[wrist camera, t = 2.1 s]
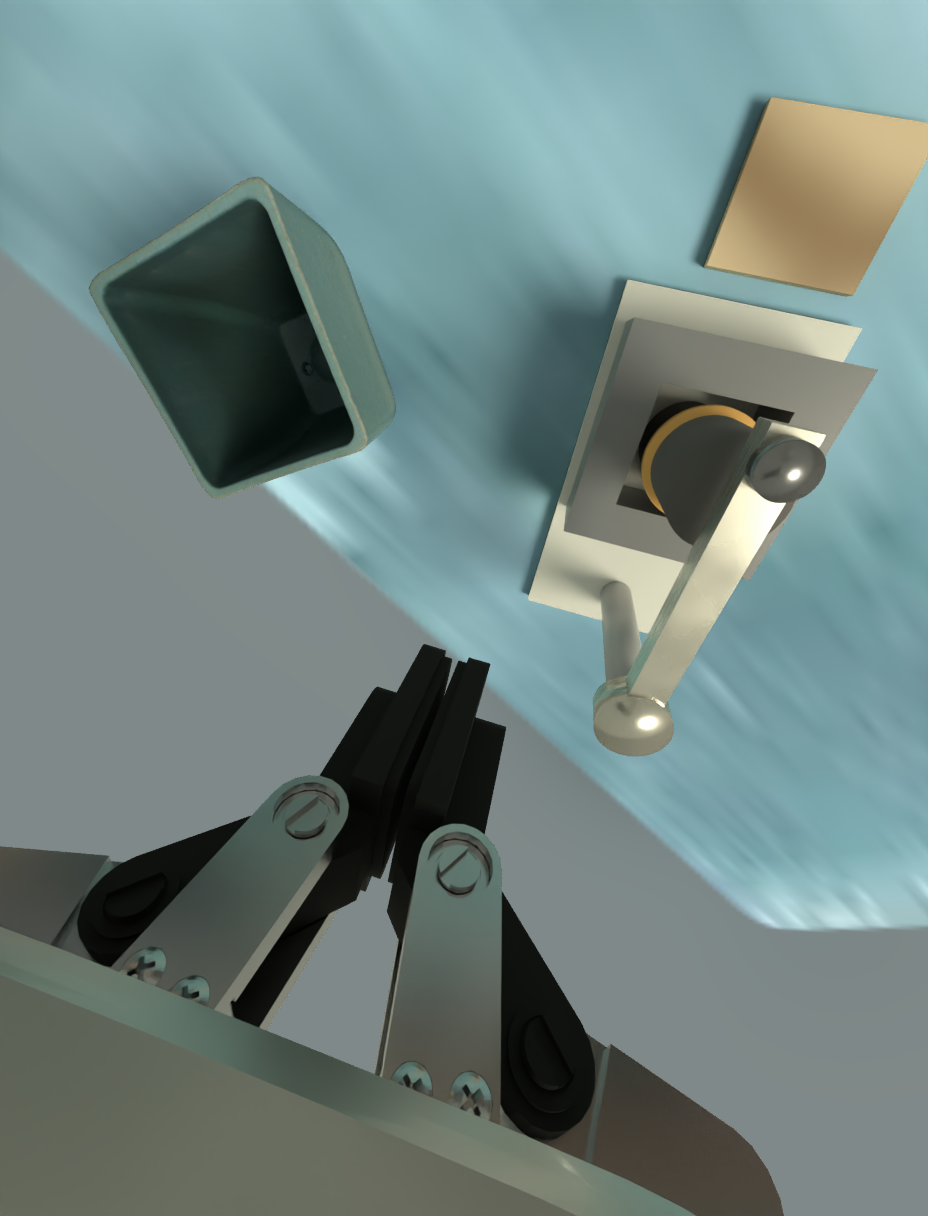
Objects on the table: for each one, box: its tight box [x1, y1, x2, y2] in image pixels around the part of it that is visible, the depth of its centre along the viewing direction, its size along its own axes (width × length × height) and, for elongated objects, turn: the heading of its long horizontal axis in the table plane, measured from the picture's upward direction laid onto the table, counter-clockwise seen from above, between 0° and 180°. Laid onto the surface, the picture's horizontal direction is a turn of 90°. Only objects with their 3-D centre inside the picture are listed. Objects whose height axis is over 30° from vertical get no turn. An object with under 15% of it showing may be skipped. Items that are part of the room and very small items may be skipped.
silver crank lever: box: [593, 417, 826, 756], centre depth 16 cm, size 13×3×2 cm, turn 169°
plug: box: [639, 401, 795, 545], centre depth 19 cm, size 5×5×9 cm
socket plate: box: [528, 280, 878, 682], centre depth 20 cm, size 17×10×10 cm, turn 169°
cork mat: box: [704, 97, 928, 296], centre depth 18 cm, size 5×6×1 cm
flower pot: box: [89, 177, 396, 499], centre depth 21 cm, size 9×9×9 cm
